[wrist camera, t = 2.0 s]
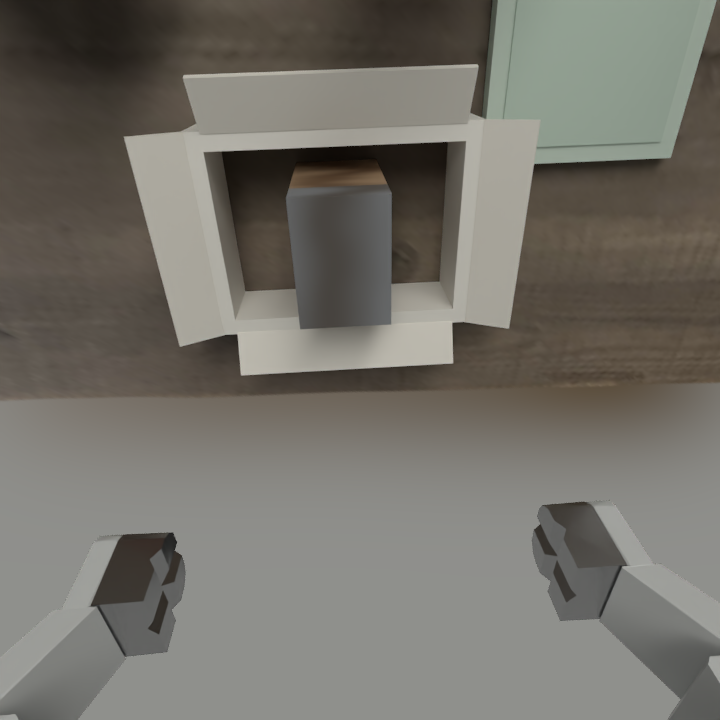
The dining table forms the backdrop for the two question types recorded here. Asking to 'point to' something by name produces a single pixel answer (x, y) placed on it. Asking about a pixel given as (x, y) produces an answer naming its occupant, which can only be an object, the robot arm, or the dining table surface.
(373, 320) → the grey brown rectangular block
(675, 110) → the plate
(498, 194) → the carton
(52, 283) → the dining table surface
